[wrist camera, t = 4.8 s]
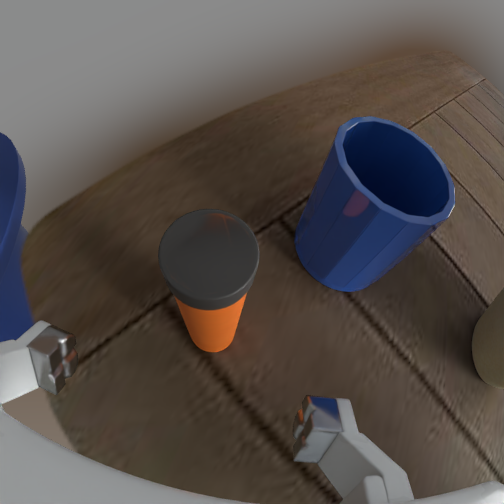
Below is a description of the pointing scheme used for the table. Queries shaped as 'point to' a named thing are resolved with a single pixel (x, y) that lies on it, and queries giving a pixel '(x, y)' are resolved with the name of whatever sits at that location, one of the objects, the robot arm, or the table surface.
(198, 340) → the orange tube bottle
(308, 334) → the table surface
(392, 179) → the cup
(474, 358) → the plant pot
